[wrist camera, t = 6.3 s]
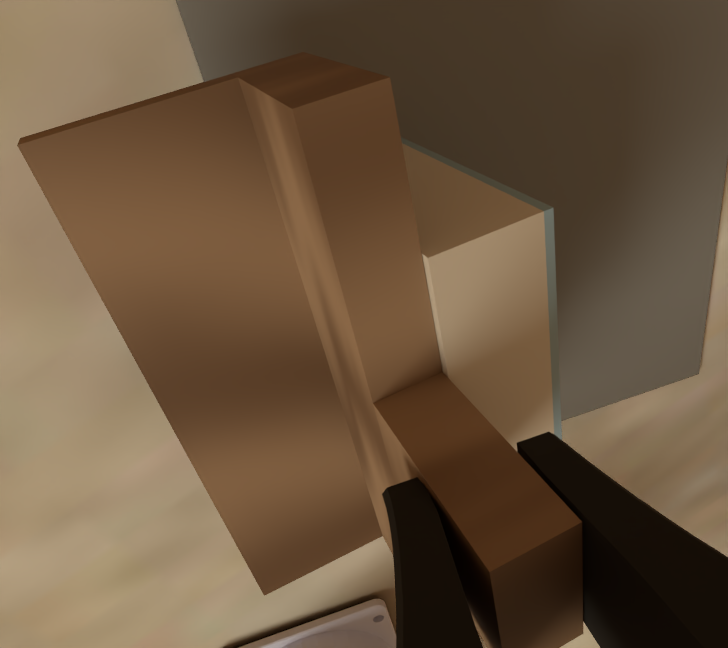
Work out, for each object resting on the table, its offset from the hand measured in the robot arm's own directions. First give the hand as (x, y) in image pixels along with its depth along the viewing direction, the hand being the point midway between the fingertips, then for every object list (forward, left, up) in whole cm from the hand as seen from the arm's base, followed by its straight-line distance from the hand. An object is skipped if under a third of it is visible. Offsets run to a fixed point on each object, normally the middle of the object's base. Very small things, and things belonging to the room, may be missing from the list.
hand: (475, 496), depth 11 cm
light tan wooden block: (0, 0, -9) cm, 9 cm away
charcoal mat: (0, -5, -9) cm, 10 cm away
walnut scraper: (0, +3, -6) cm, 6 cm away
